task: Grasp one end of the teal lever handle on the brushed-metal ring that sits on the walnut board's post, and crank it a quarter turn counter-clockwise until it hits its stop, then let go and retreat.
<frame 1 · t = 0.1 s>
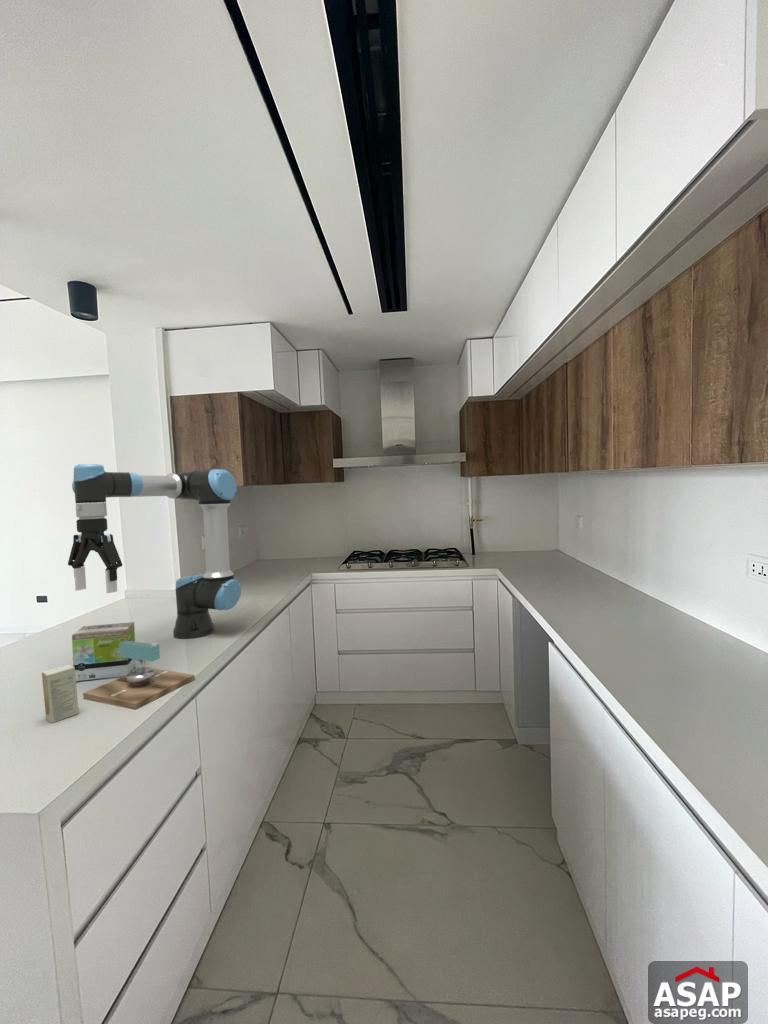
hand: (96, 591, 135), 28 cm above the table, fingers open, 13 cm apart
teal lever handle: (139, 659, 133), point 9 cm above the table, hinge at 0.0°
skincare box: (61, 717, 117), on the table
post base: (141, 688, 133), on the table
tea box: (106, 674, 146), on the table
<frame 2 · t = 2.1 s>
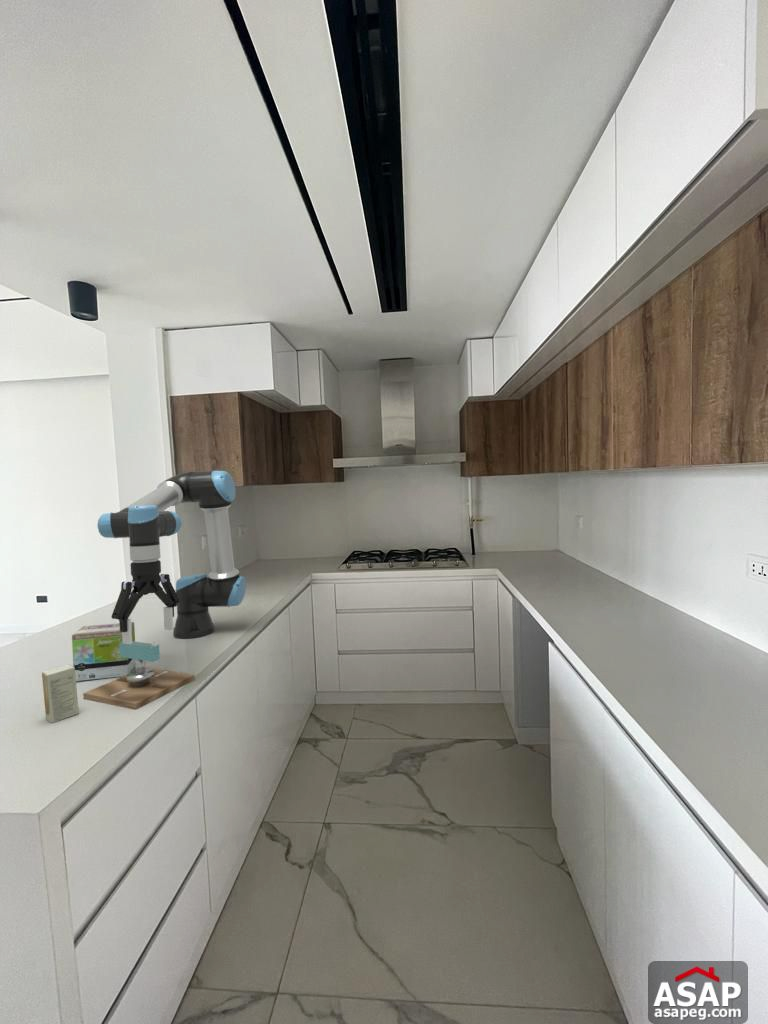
hand: (149, 636, 130), 16 cm above the table, fingers open, 13 cm apart
nothing on the table moved.
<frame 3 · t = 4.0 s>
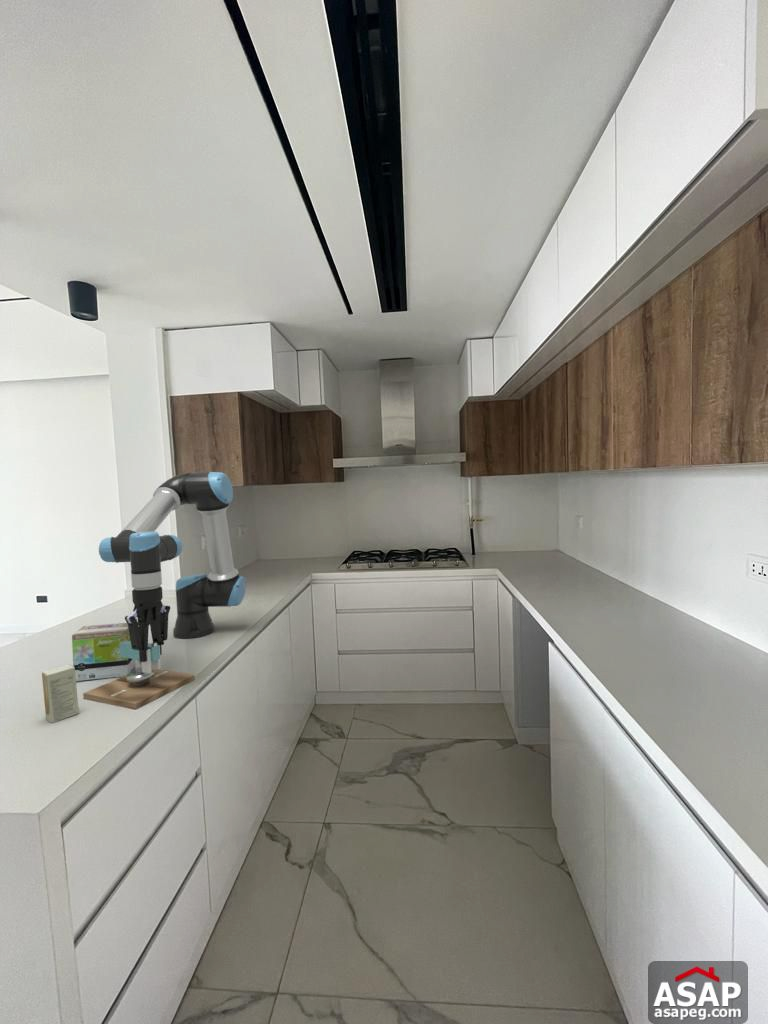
hand: (151, 669, 131), 6 cm above the table, fingers closed on teal lever handle, 2 cm apart
teal lever handle: (139, 659, 133), point 9 cm above the table, hinge at 0.0°, touching gripper
everything else where it was.
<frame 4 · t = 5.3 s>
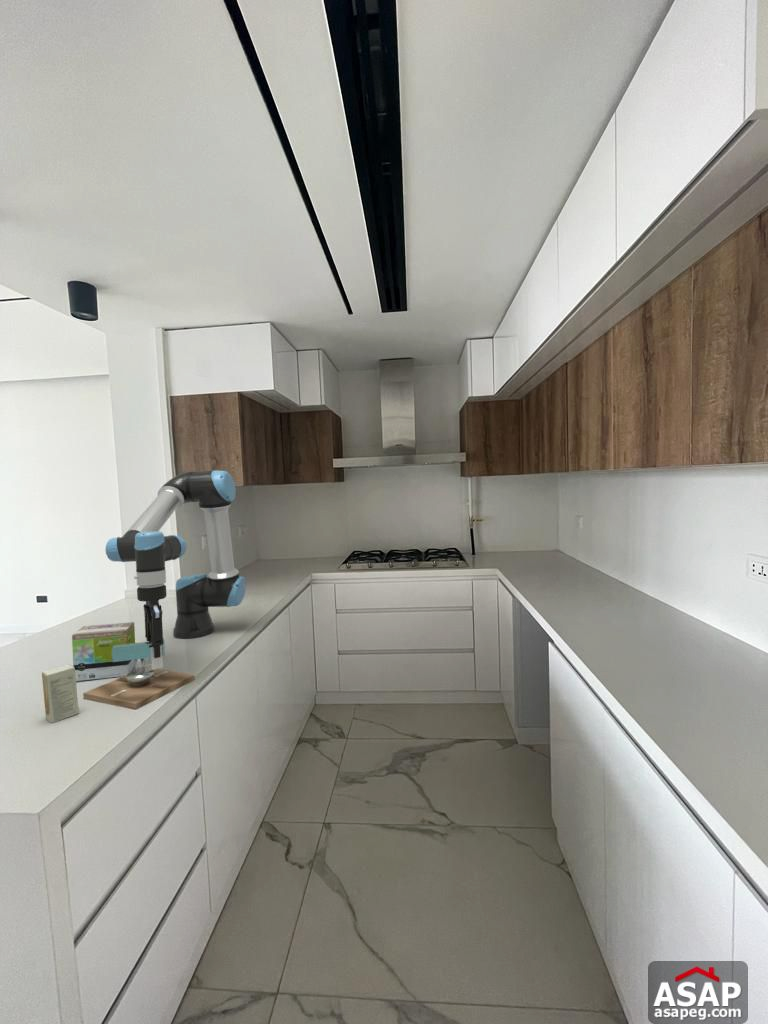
hand: (155, 665, 134), 6 cm above the table, fingers open, 5 cm apart
teal lever handle: (139, 659, 133), point 9 cm above the table, hinge at 38.3°, touching gripper
everything else where it was.
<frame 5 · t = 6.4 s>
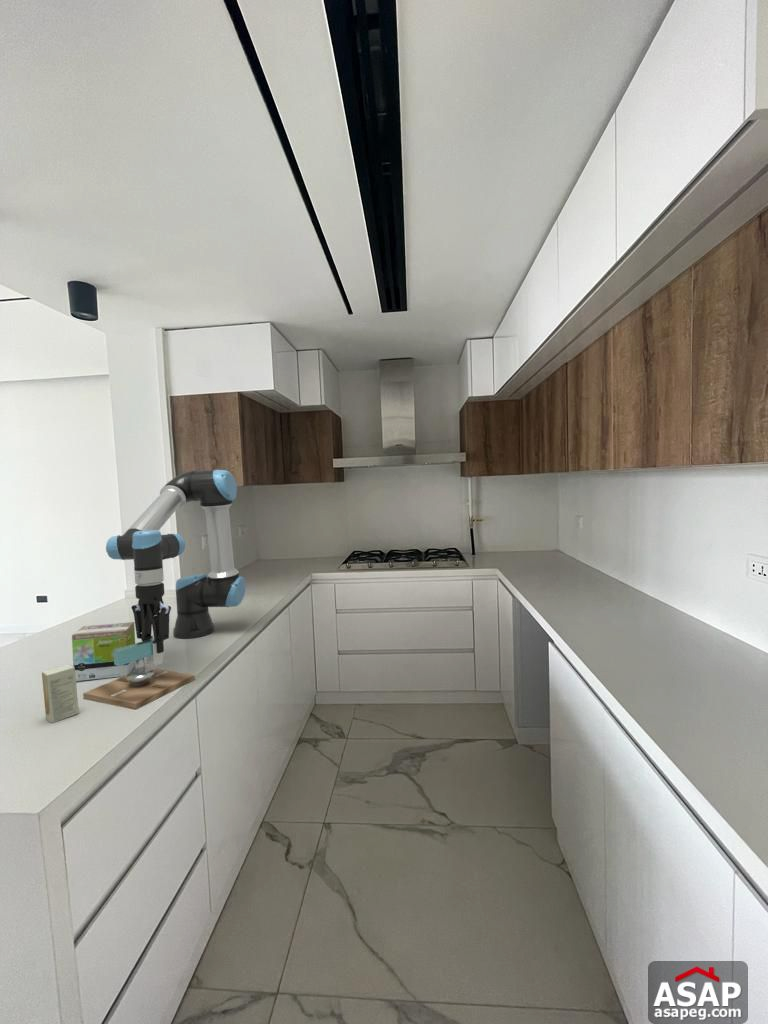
hand: (154, 662, 136), 6 cm above the table, fingers closed on teal lever handle, 3 cm apart
teal lever handle: (139, 659, 133), point 9 cm above the table, hinge at 82.7°, touching gripper
everything else where it was.
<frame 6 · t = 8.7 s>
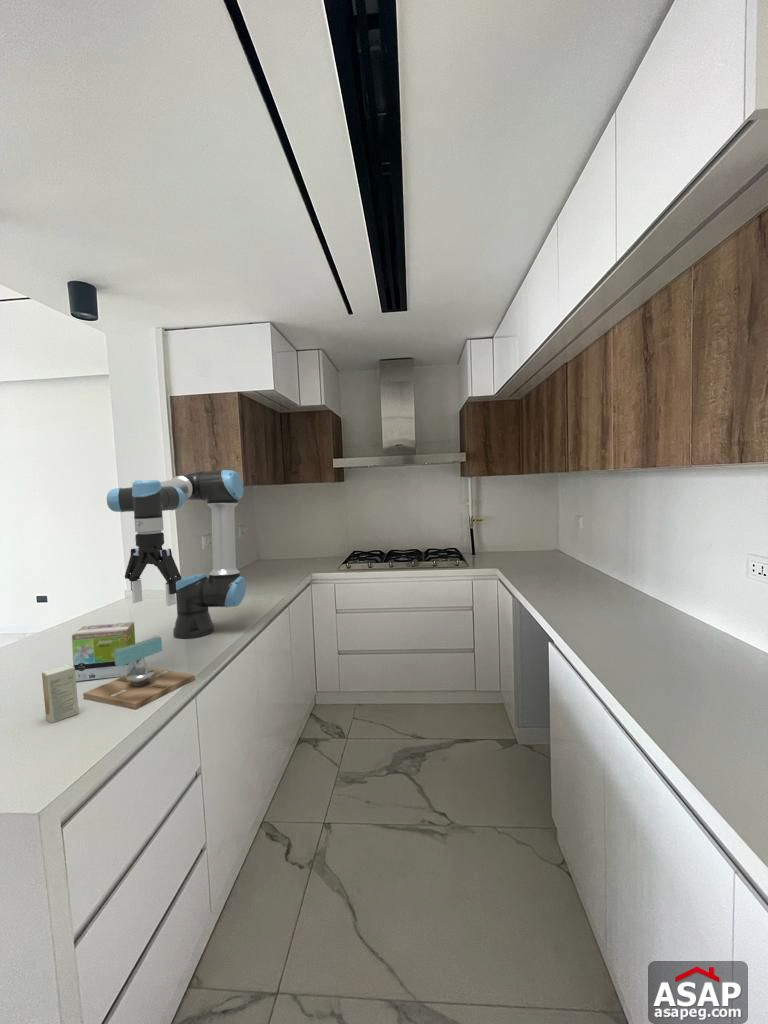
hand: (154, 603, 138), 23 cm above the table, fingers open, 13 cm apart
teal lever handle: (139, 659, 133), point 9 cm above the table, hinge at 87.2°
everything else where it was.
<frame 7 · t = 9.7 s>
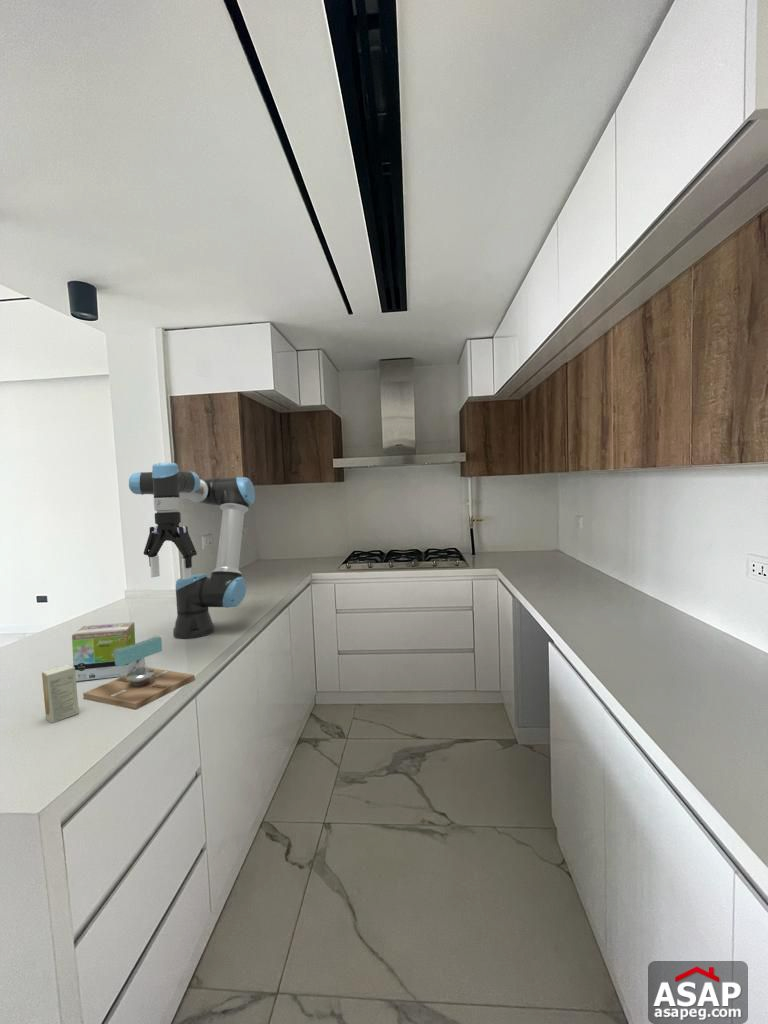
hand: (170, 577, 149), 29 cm above the table, fingers open, 13 cm apart
nothing on the table moved.
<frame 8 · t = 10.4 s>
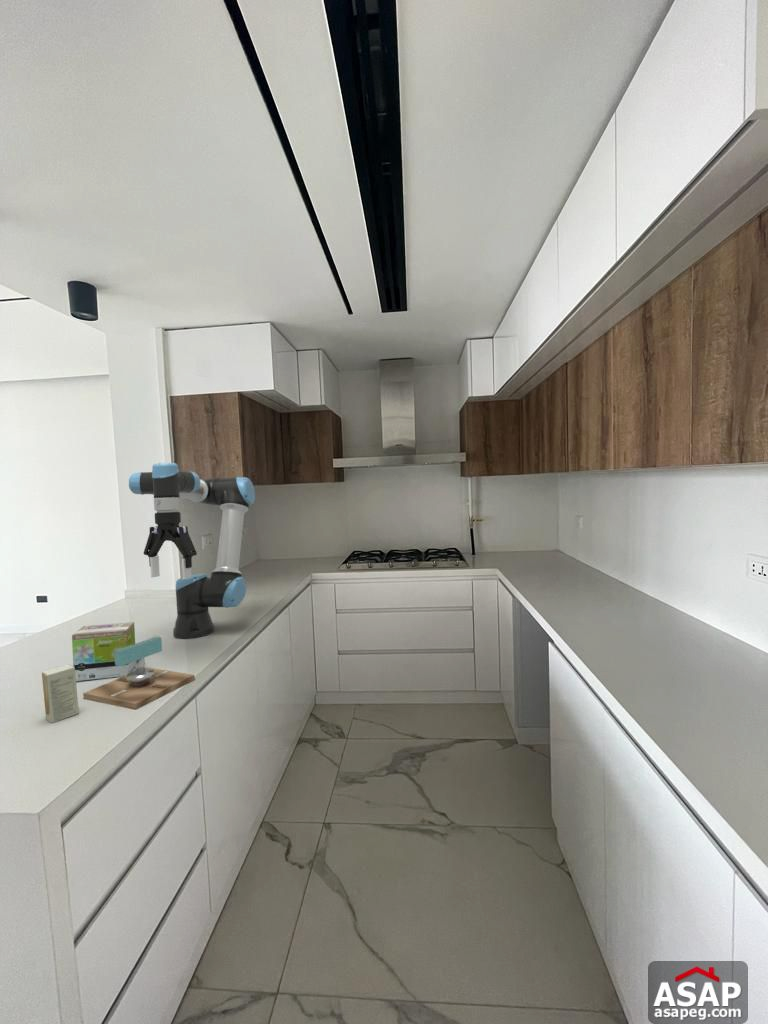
hand: (170, 577, 149), 29 cm above the table, fingers open, 13 cm apart
nothing on the table moved.
at the end: teal lever handle at +87° (first picture: +0°); the gripper is holding nothing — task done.
